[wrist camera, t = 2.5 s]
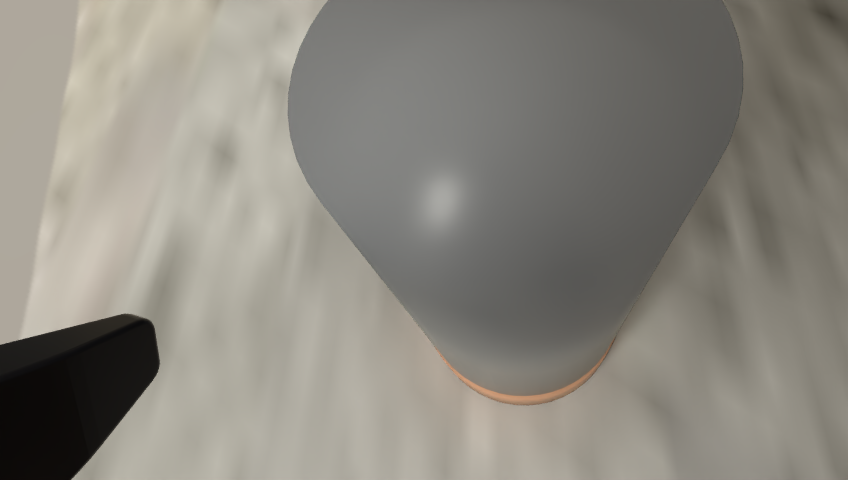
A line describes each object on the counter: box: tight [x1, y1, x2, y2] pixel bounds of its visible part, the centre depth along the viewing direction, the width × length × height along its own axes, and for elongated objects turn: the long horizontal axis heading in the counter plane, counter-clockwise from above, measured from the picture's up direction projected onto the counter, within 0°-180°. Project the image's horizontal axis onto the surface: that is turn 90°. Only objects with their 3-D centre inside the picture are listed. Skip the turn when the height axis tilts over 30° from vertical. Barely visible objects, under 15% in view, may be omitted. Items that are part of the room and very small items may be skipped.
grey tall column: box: [288, 0, 743, 405], centre depth 13 cm, size 6×6×13 cm
